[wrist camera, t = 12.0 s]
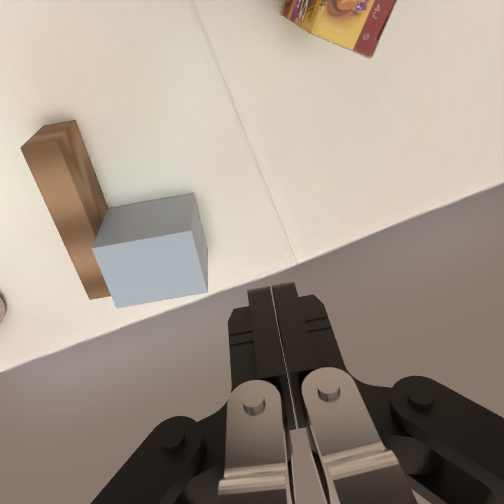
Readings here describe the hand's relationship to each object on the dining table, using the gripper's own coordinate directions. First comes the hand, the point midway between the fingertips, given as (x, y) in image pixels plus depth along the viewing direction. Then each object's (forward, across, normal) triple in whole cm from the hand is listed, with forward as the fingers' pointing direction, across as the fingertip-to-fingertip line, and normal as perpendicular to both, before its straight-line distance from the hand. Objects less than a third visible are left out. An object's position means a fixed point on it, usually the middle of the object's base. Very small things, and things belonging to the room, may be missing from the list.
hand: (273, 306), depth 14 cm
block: (+31, +10, +14) cm, 36 cm away
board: (+31, +16, +9) cm, 36 cm away
